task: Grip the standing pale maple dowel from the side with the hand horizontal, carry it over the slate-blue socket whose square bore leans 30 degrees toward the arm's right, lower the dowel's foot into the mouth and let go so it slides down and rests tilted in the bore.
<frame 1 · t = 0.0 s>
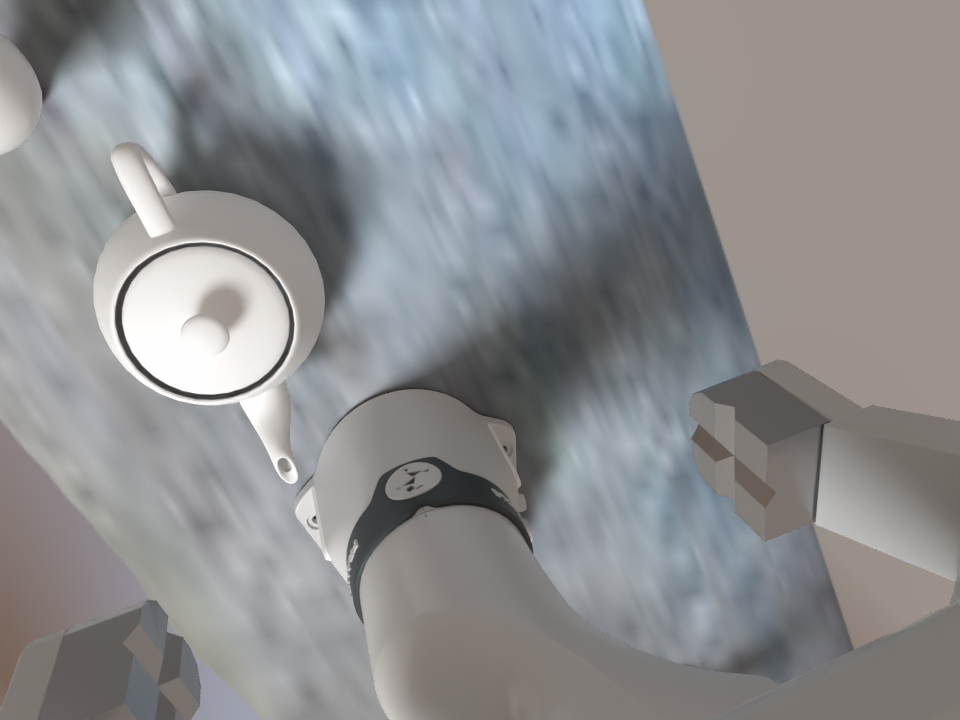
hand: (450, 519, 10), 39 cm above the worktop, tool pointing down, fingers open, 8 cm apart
lightbulb: (20, 90, 38), on the worktop
teapot: (224, 295, 45), on the worktop
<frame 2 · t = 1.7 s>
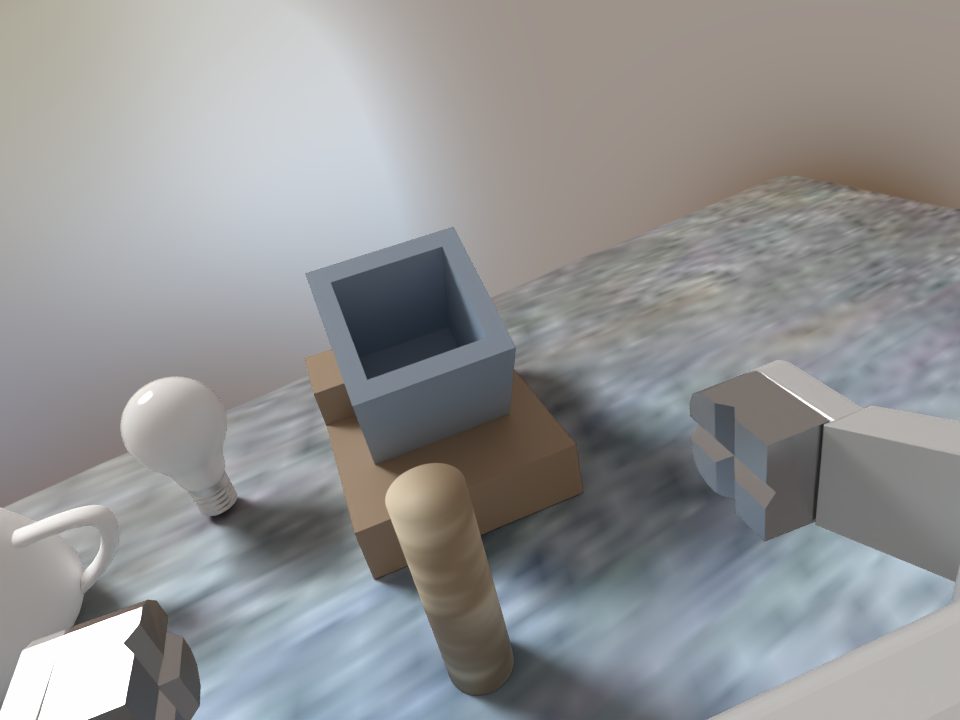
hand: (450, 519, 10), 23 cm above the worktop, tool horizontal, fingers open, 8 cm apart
lightbulb: (223, 510, 47), on the worktop
peg: (481, 662, 33), on the worktop
socket: (457, 485, 44), on the worktop
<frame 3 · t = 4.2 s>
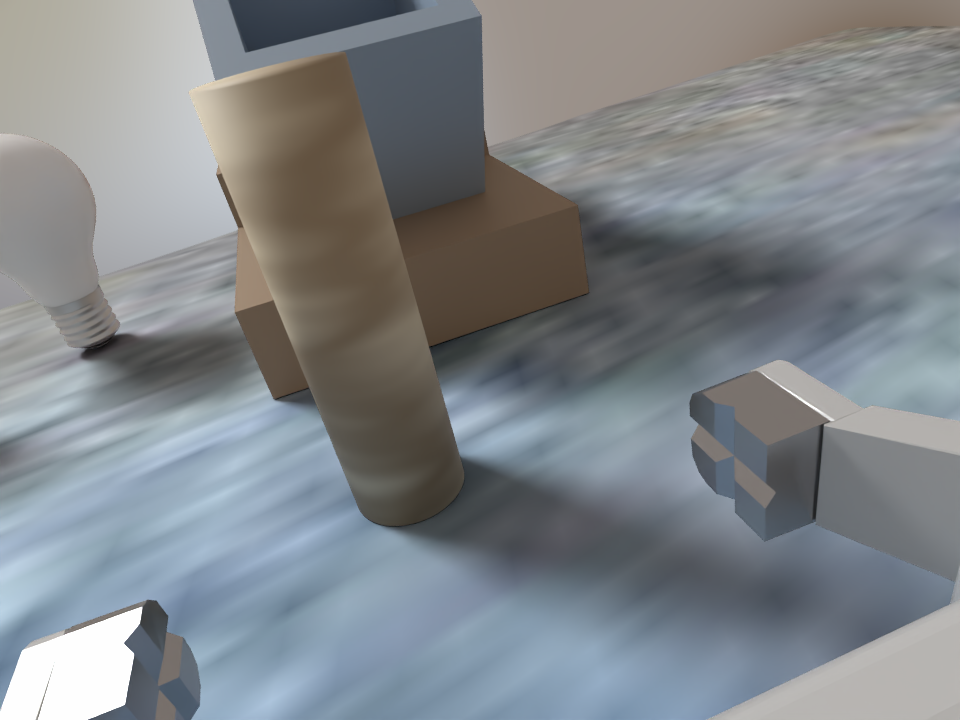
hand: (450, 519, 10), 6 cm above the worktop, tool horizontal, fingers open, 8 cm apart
lightbulb: (102, 347, 35), on the worktop
peg: (410, 484, 20), on the worktop
socket: (412, 300, 32), on the worktop
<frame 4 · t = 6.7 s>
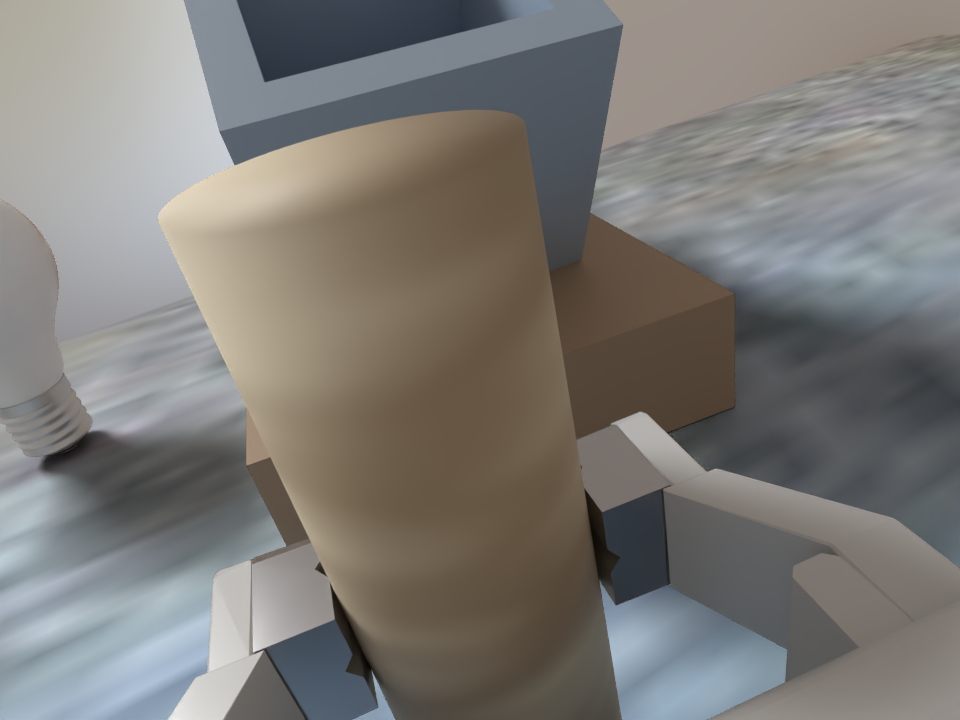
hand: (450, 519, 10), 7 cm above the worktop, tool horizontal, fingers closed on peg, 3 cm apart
lightbulb: (69, 451, 27), on the worktop
socket: (480, 402, 24), on the worktop
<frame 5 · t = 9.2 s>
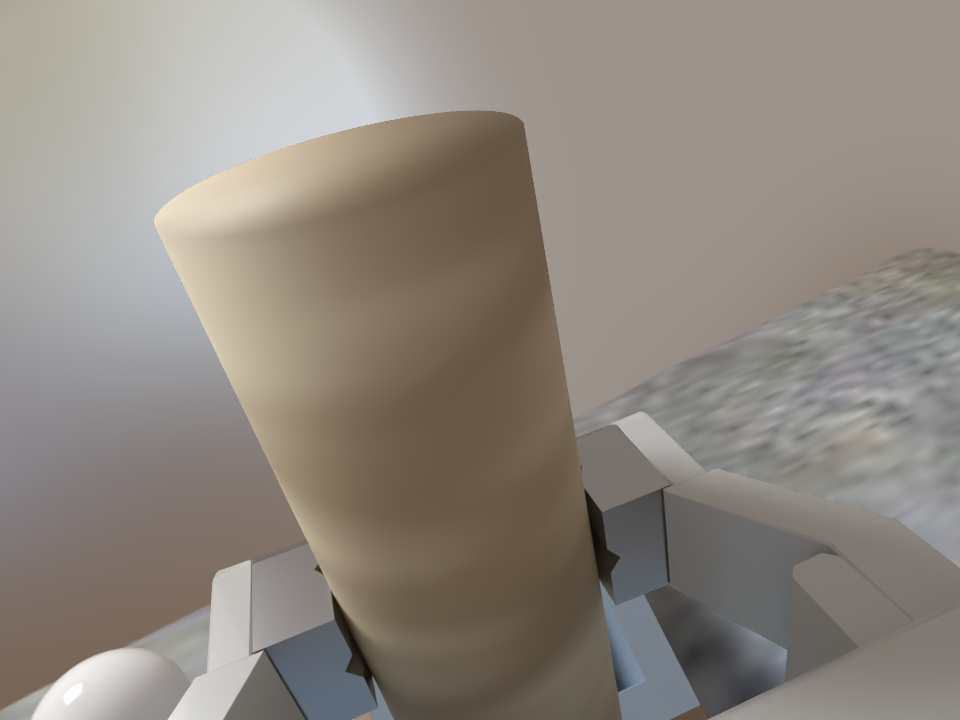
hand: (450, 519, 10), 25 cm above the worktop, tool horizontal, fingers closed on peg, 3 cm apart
when the fingers open (17 cm above the worktop, at t = 11.9 s): peg drops 4 cm and tips over, resting on socket.
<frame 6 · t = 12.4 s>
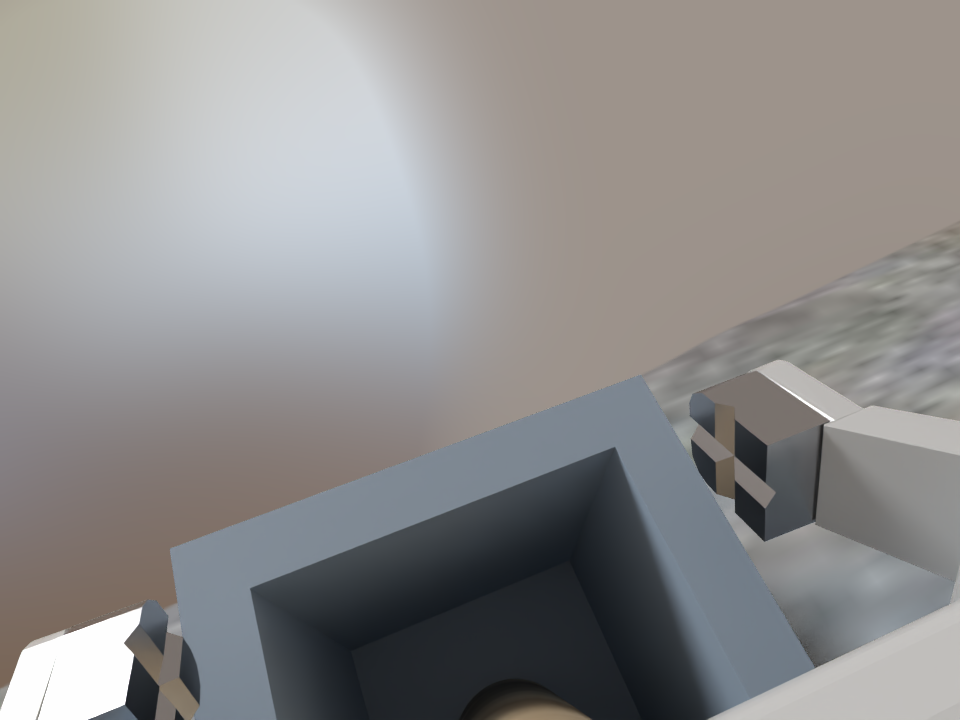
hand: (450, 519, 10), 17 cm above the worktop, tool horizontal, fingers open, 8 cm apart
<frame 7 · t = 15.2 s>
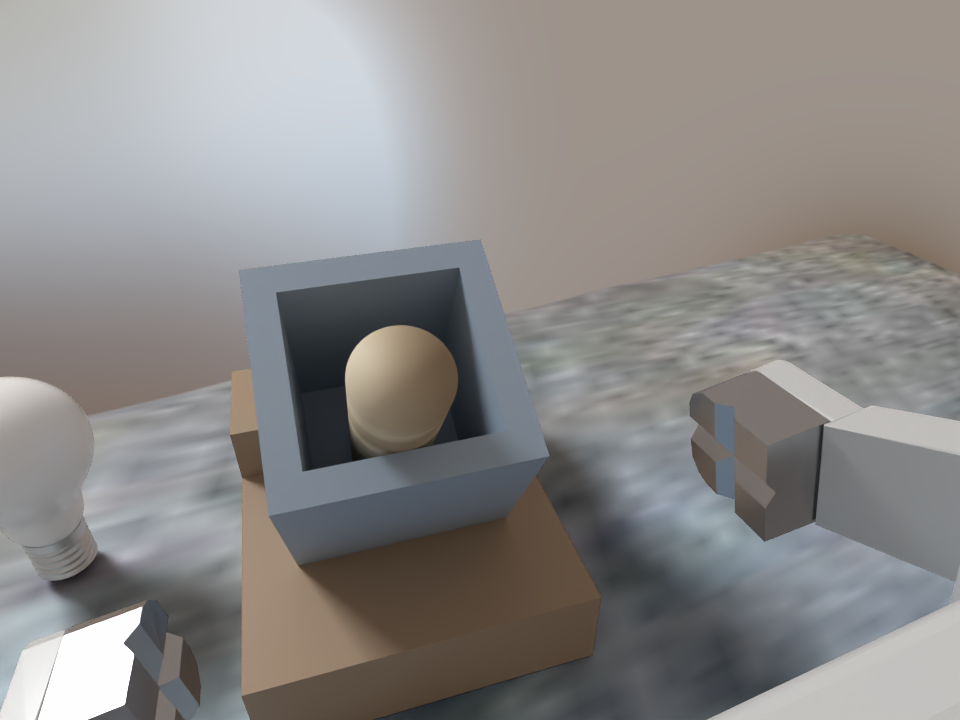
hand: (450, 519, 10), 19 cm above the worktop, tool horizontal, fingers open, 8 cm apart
lightbulb: (74, 569, 33), on the worktop
peg: (388, 453, 31), point 6 cm above the worktop, tilted 38°, touching socket
socket: (413, 601, 31), on the worktop
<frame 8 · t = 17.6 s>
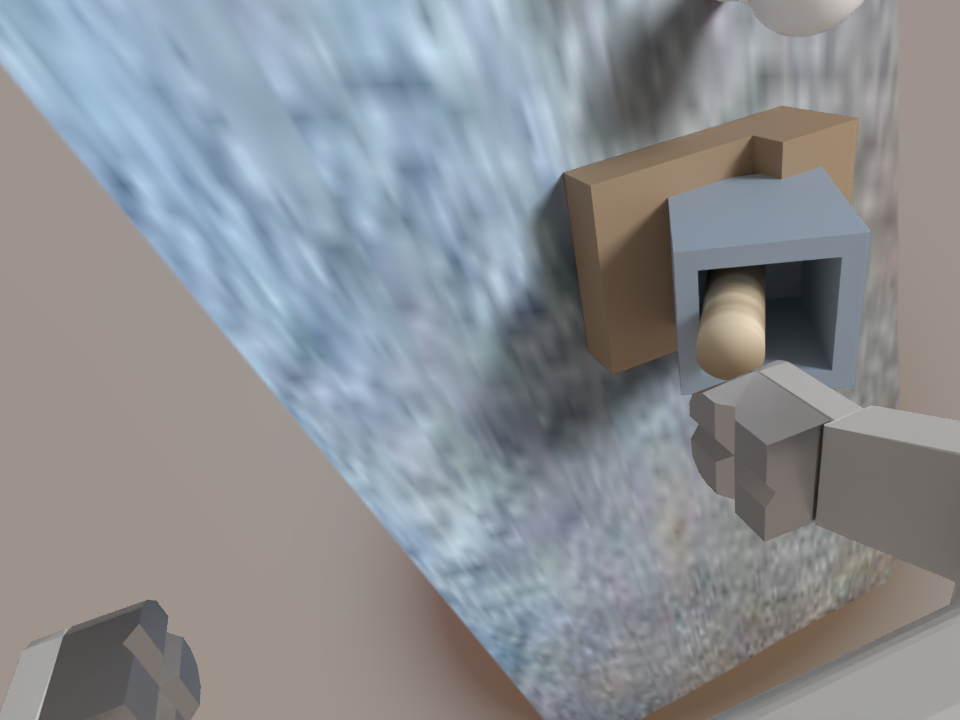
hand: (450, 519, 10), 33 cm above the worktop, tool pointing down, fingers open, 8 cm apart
peg: (737, 257, 43), point 6 cm above the worktop, tilted 38°, touching socket
socket: (638, 247, 48), on the worktop
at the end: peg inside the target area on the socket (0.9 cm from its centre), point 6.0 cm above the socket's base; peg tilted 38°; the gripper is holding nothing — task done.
